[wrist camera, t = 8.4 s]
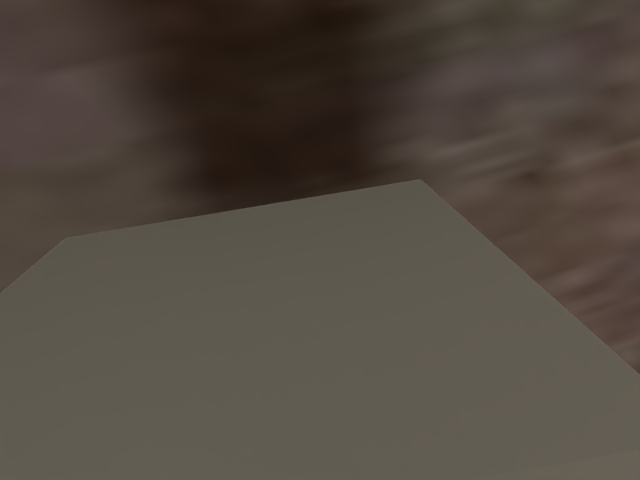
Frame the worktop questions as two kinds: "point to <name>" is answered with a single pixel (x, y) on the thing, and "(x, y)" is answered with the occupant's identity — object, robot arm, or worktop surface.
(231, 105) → the worktop surface
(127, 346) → the pale sage box
